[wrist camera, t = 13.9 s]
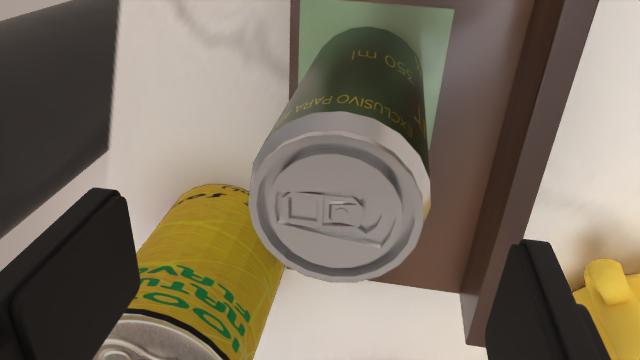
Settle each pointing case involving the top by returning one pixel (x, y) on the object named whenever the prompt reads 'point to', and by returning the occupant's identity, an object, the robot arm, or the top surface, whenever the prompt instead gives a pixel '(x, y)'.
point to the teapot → (613, 307)
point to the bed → (469, 122)
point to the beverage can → (199, 284)
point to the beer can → (347, 162)
